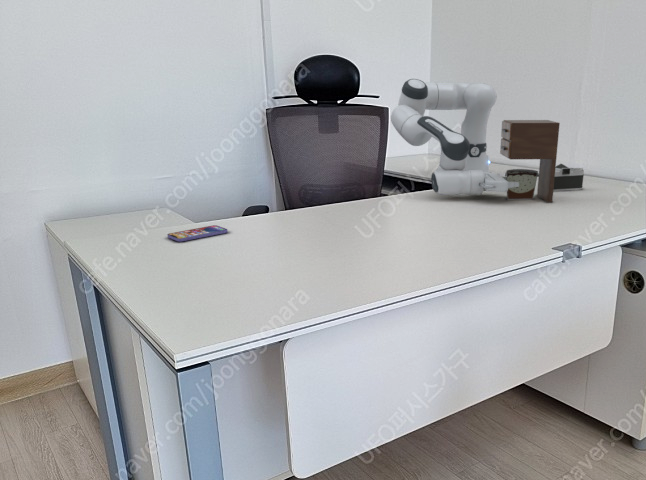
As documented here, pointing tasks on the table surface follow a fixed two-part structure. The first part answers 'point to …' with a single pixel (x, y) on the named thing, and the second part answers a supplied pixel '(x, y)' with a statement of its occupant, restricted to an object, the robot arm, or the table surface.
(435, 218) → the table surface
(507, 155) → the drawer unit
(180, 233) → the smartphone
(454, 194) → the robot arm
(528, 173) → the food container
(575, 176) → the camera
